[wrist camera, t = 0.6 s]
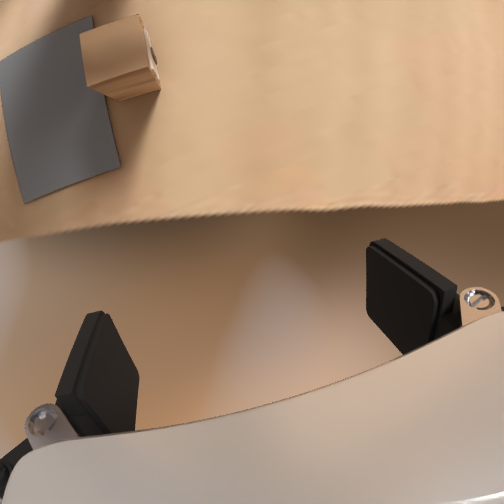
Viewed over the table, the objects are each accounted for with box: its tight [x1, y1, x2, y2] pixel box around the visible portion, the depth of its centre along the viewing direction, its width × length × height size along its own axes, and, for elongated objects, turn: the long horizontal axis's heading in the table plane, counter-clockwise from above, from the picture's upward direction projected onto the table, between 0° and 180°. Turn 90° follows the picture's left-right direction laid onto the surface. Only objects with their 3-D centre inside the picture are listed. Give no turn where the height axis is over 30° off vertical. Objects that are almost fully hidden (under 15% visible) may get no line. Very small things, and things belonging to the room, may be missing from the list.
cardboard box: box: [79, 14, 161, 102], centre depth 24 cm, size 5×5×12 cm
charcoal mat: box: [0, 16, 121, 204], centre depth 28 cm, size 20×14×1 cm
